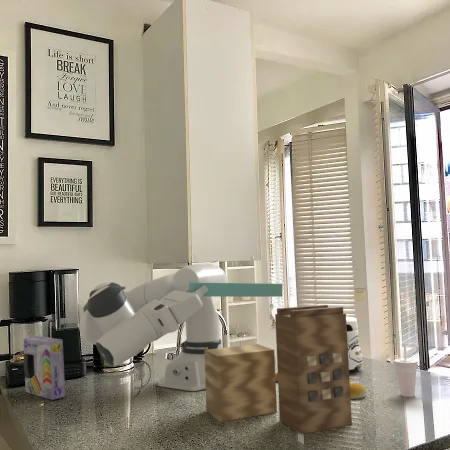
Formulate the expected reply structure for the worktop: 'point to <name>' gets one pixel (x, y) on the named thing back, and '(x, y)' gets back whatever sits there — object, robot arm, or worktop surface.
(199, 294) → the robot arm
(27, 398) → the worktop surface
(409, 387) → the smoothie
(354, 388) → the bread roll
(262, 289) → the long teal plank
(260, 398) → the oak block
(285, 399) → the button stand
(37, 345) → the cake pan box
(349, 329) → the milk container
